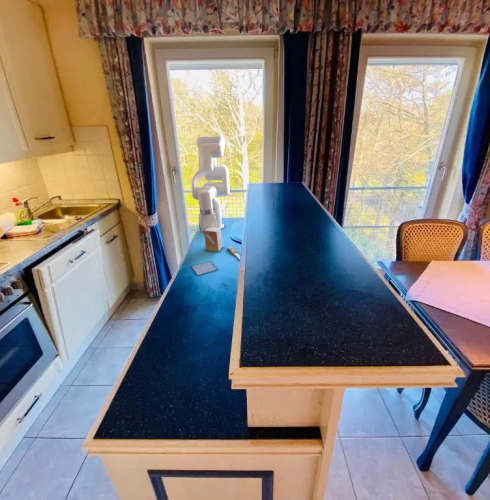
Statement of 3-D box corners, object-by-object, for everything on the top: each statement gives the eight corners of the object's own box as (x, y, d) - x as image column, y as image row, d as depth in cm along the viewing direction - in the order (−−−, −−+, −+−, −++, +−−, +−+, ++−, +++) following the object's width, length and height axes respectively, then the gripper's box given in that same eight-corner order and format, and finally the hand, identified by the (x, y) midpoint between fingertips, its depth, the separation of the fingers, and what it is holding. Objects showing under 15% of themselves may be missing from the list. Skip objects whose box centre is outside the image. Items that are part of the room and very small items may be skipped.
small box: (205, 250, 165) (203, 230, 159) (210, 246, 170) (208, 226, 165) (218, 252, 163) (216, 231, 157) (222, 247, 168) (220, 227, 162)
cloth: (191, 267, 148) (191, 266, 148) (209, 262, 152) (209, 261, 152) (197, 275, 140) (197, 274, 140) (216, 270, 144) (216, 269, 144)
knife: (227, 249, 166) (227, 246, 165) (230, 248, 167) (230, 245, 166) (239, 260, 152) (239, 258, 152) (243, 259, 153) (243, 257, 153)
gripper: (216, 207, 168) (218, 235, 176) (192, 211, 162) (196, 240, 170) (220, 210, 162) (223, 239, 170) (196, 215, 156) (199, 245, 164)
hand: (209, 240), depth 170 cm, fingers closed
